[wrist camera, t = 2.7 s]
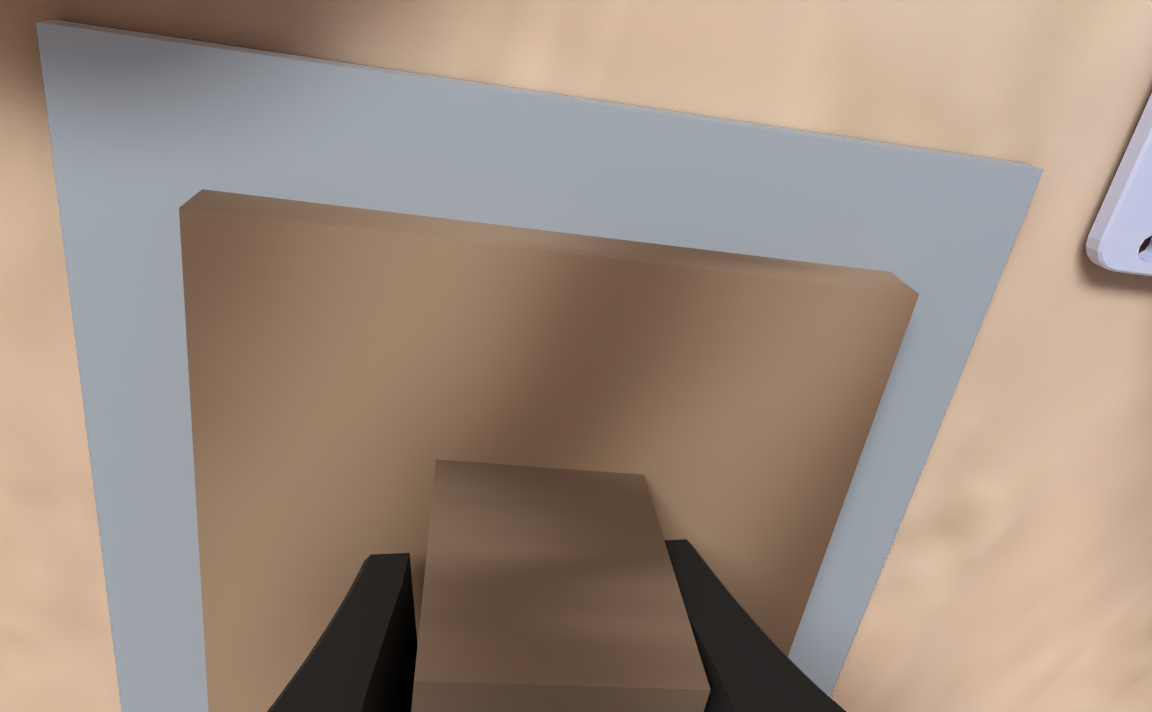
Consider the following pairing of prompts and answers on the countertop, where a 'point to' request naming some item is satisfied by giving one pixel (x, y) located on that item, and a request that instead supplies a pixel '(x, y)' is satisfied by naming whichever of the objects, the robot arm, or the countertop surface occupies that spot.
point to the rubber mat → (478, 194)
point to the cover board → (512, 443)
